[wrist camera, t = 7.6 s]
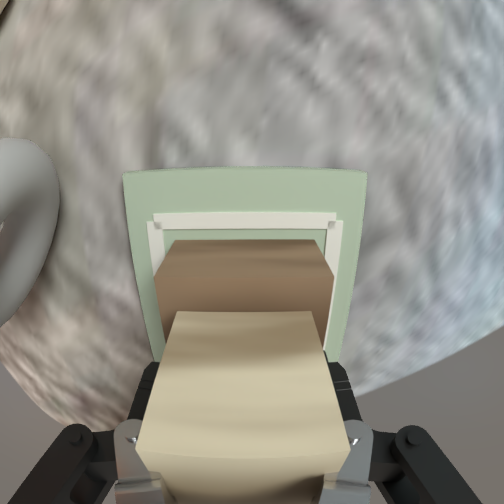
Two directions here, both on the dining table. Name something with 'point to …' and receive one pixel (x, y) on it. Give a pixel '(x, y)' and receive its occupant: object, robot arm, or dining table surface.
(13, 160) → the donut
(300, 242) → the walnut block
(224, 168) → the build board
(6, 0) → the stacking toy
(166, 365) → the maple block
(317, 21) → the dining table surface
